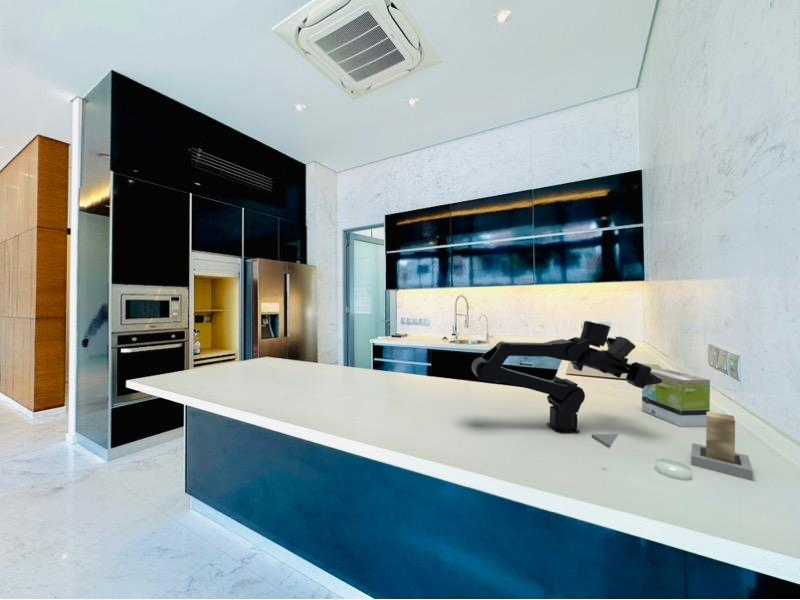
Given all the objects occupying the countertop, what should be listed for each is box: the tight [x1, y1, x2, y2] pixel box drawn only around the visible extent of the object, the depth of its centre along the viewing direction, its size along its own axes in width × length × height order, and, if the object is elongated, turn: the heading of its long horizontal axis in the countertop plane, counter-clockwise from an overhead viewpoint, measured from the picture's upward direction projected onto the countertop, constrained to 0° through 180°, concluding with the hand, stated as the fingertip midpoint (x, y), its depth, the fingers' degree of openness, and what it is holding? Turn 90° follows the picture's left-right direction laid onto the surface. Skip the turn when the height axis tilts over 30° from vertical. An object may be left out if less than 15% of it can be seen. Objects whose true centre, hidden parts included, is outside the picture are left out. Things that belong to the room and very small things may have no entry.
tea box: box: [641, 369, 711, 428], centre depth 108 cm, size 15×10×15 cm, turn 5°
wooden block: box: [705, 411, 736, 464], centre depth 75 cm, size 4×4×11 cm
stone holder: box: [690, 442, 754, 481], centre depth 75 cm, size 10×10×3 cm
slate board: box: [591, 433, 619, 449], centre depth 85 cm, size 14×14×1 cm
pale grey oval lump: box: [654, 458, 693, 481], centre depth 71 cm, size 6×6×2 cm
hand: (649, 376), depth 97 cm, fingers open, 9 cm apart
